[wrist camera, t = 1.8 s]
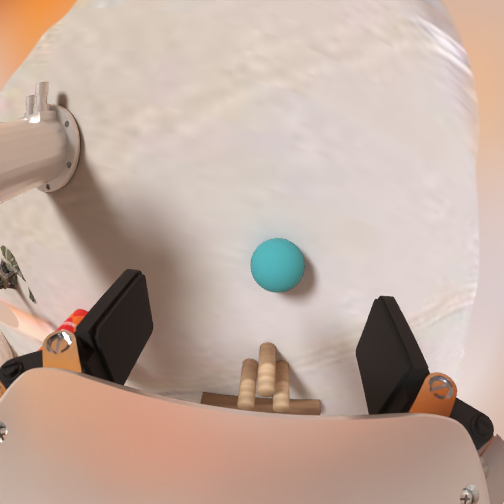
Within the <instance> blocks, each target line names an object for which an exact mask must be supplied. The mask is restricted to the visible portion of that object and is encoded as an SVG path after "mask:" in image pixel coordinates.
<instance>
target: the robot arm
mask: <svg viewBox="0 0 504 504" xmlns="http://www.w3.org/2000/svg"><path fill="white" fill-rule="evenodd" d="M48 88H49V82H41V83H38V84H36V91H35V95H31V96H27V97H26V113H25V115H24V117H23V118H20V119H18V120H12V121H7V122H1V123H0V204H1V203H3V202H5V201H7V200H9V199H11V198H13V197H15V196H17V195H20V194H22V193H24V192H26V191H28V190H31V189H33V188H35V187H36V188H37V189H39V190H41V191H44V192H52V191H55V190H58V189H60V188H61V187H63V186H65V185H66V184H67V183H68V182H69V180H70V179H71V177H72V176H73V174H74V172H75V169H76V167H77V163H78V160H79V153H80V138H79V131H78V127H77V124H76V122H75V120H74V118H73V116H72V115H71V113H70V112H69V111H68V110H67V109H66V108H64V107H62V106H60V105H56V104H52V105H50V104H47V95H48ZM35 97H36V106H35V107H34V104H35ZM152 331H153V321H152V316H151V310H150V304H149V298H148V292H147V285H146V278H145V275H142V273H141V271H139V270H132V269H127V270H126V271H125V272H124V273H123V274H122V275H121V276H120V277H119V278H118V279H117V280H116V281H115V283H114V284H113V285H112V286H111V287H110V288H109V289H108V290H107V291H106V293H105V294H104V295H103V296H102V297H101V298H100V299H99V300H98V302H97V303H96V304H95V305H94V306H93V307H92V309H91V310H90V311H89V312H88V313H87V314H86V316H85V317H84V318H83V319H82V320H81V322H80V323H79V324H78V325H77V326H76V331H75V332H74V334H73V333H72V332H70V331H67V330H59V331H56V332H53V333H51V334H50V335H48V336H47V337H46V338H45V340H44V342H43V346H42V350H40V351H36V352H33V353H30V354H26V355H23V356H20V357H16V358H13V359H10V360H8V361H6V362H5V363H3V365H2V366H1V367H0V504H503V502H504V441H503V440H502V439H501V437H500V436H499V435H498V434H497V435H496V436H494V435H493V432H494V428H493V424H492V422H491V420H490V419H489V417H488V416H486V415H485V414H483V413H481V412H480V411H478V410H476V409H475V408H473V407H471V406H470V405H468V404H466V403H464V402H463V401H461V400H459V399H458V398H456V395H457V388H456V385H455V383H454V381H453V380H452V379H451V378H450V377H448V376H447V375H445V374H442V373H437V372H436V373H431V374H430V372H429V370H428V365H427V363H426V361H425V359H424V357H423V354H422V352H421V350H420V348H419V346H418V344H417V342H416V339H415V337H414V335H413V333H412V331H411V329H410V327H409V325H408V323H407V321H406V319H405V317H404V315H403V313H402V312H401V310H400V308H399V306H398V304H397V302H396V300H395V298H394V297H391V296H380V297H379V298H378V299H375V300H374V302H373V305H372V308H371V311H370V314H369V316H368V319H367V322H366V325H365V327H364V330H363V332H362V335H361V338H360V340H359V343H358V345H357V348H356V357H357V361H358V366H359V370H360V374H361V379H362V383H363V388H364V392H365V397H366V402H367V407H368V412H369V415H338V416H323V415H293V414H277V413H265V412H255V411H246V410H238V409H230V408H223V407H217V406H211V405H205V404H199V403H194V402H189V401H184V400H179V399H174V398H170V397H165V396H161V395H157V394H153V393H149V392H145V391H142V390H138V389H134V388H131V387H127V386H124V384H125V382H126V380H127V378H128V376H129V374H130V372H131V370H132V368H133V367H134V365H135V363H136V361H137V359H138V357H139V355H140V354H141V352H142V350H143V348H144V346H145V344H146V343H147V341H148V339H149V337H150V335H151V334H152Z"/></svg>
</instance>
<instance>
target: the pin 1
mask: <svg viewBox="0 0 504 504" xmlns="http://www.w3.org/2000/svg"><path fill="white" fill-rule="evenodd" d="M257 366H258V363H257V361H255V360H253V359H246V360H244V361H243V365H242V373H241V381H240V388H239V396H238V404H237V406H238V408H240V409H242V410H252V409H253V408H254V404H255V392H256V379H257Z"/></svg>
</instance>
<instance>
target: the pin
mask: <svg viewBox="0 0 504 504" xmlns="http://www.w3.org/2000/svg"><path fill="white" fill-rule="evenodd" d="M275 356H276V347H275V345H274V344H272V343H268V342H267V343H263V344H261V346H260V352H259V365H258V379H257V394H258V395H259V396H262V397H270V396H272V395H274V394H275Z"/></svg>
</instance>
